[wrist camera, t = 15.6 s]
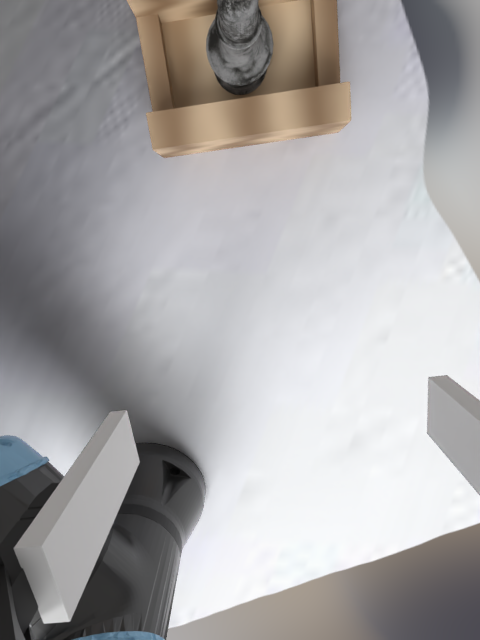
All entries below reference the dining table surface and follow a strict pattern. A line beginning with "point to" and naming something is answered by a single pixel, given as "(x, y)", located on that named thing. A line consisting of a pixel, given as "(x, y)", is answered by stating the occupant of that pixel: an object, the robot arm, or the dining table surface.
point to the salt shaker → (239, 46)
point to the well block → (250, 109)
